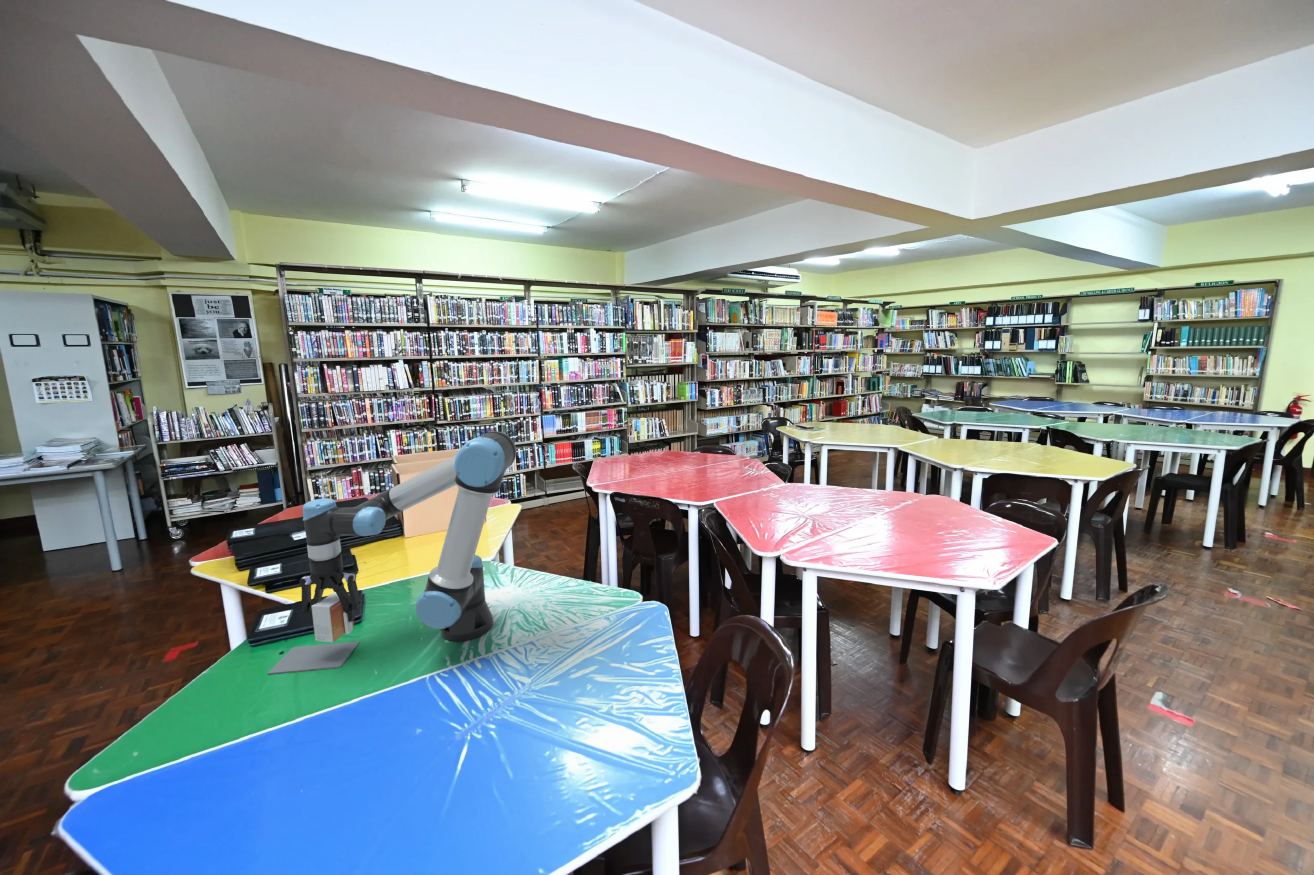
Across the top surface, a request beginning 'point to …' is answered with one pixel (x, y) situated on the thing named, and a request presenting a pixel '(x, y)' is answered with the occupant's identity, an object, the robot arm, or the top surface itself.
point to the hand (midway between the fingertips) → (335, 632)
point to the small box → (329, 619)
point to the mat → (314, 657)
